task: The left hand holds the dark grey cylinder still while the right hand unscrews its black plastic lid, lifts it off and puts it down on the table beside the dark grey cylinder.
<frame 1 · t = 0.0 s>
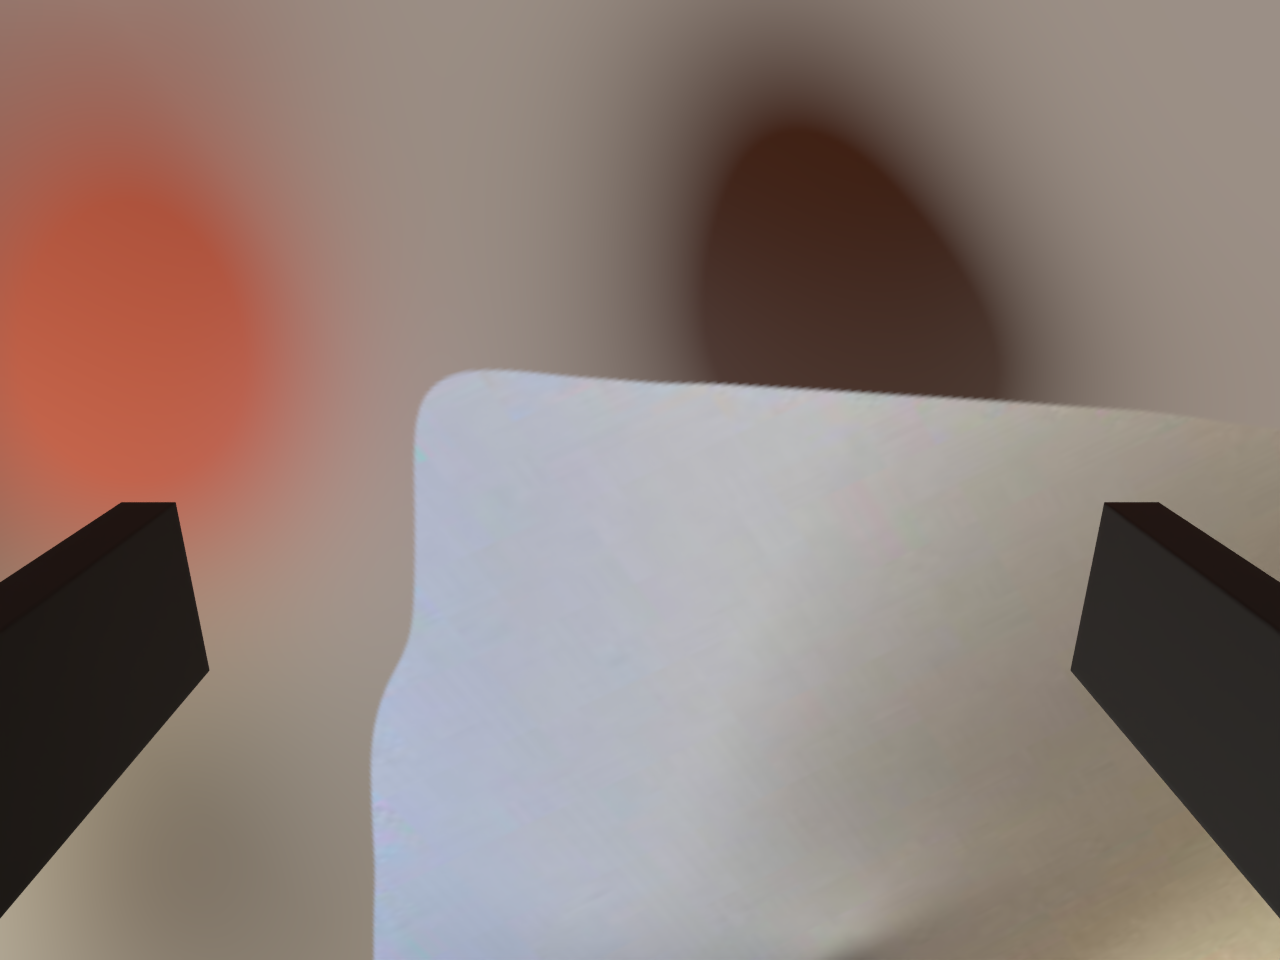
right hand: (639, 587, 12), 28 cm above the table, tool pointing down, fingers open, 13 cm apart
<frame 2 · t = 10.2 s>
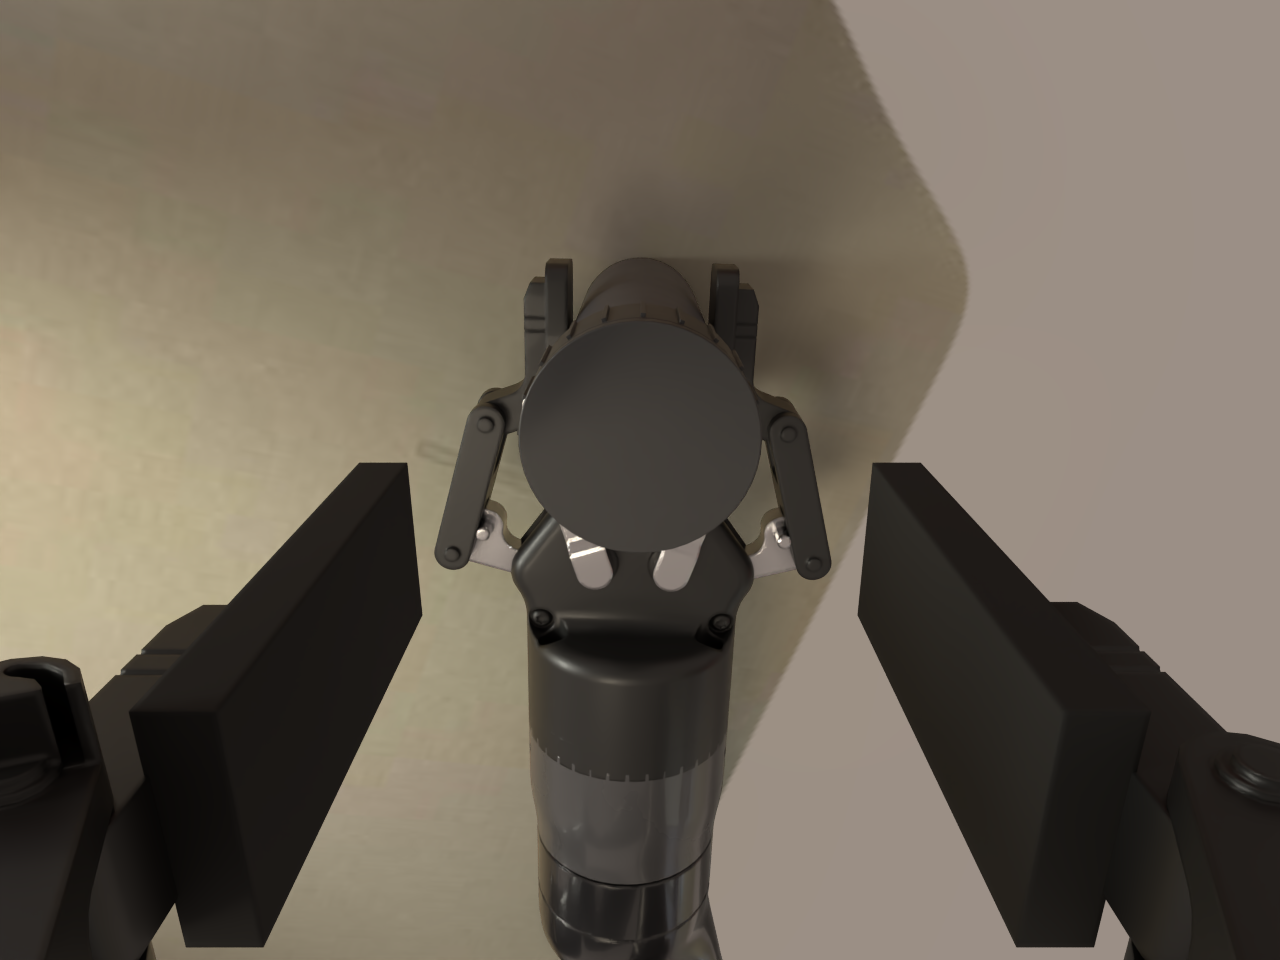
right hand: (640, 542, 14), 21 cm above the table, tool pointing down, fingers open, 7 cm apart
left hand: (641, 266, 27), fingers closed on dark grey cylinder, 4 cm apart
dark grey cylinder: (639, 316, 34), on the table, touching left hand
lid: (640, 438, 19), point 16 cm above the table, screwed on, not yet turned
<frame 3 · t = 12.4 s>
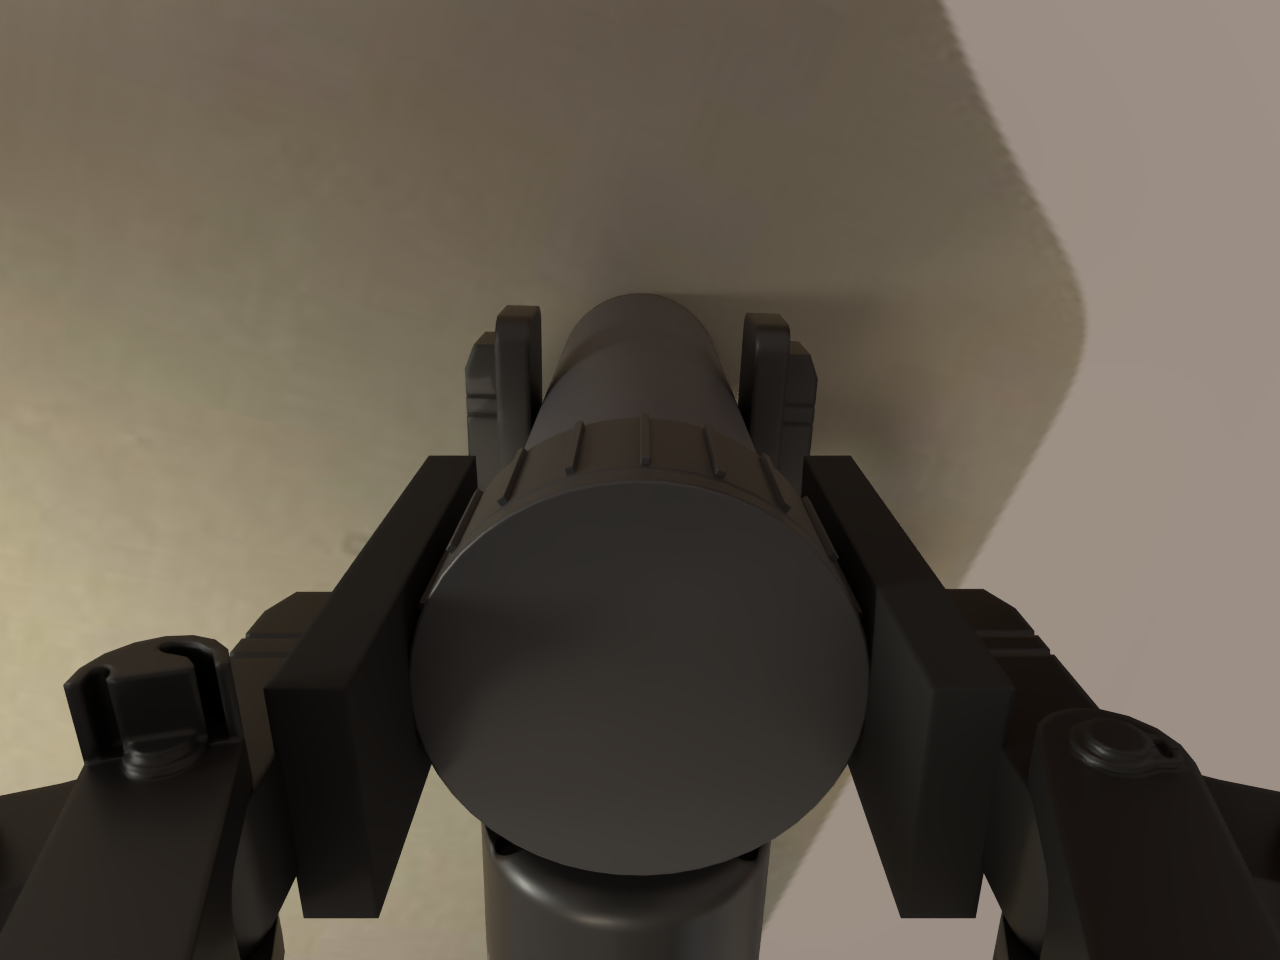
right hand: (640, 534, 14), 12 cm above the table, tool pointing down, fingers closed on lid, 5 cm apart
dark grey cylinder: (639, 372, 25), on the table, touching left hand
lid: (639, 679, 10), point 16 cm above the table, screwed on, not yet turned, touching right hand
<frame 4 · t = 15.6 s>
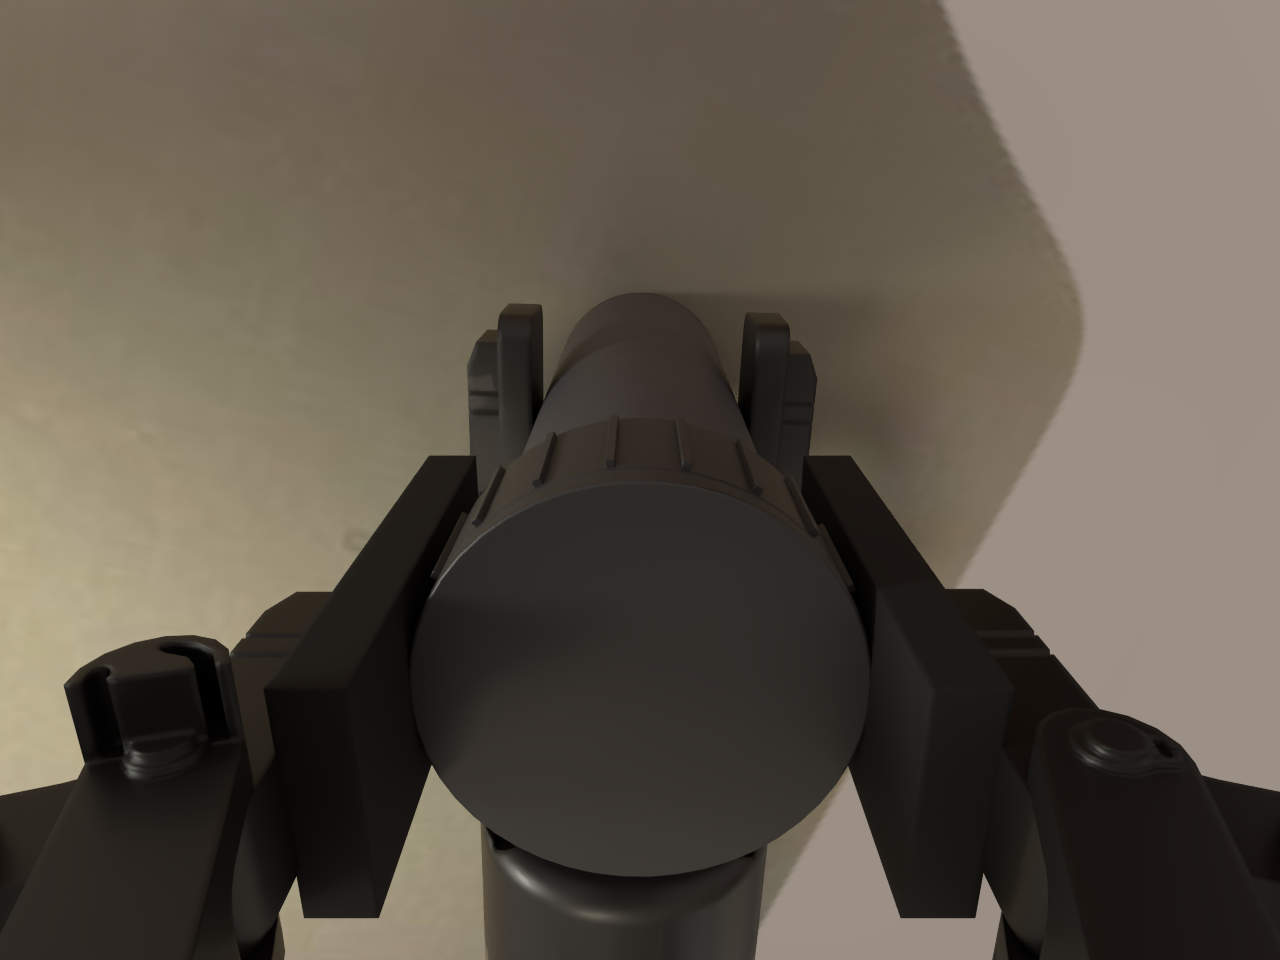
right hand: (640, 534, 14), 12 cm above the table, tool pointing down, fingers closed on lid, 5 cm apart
dark grey cylinder: (639, 371, 25), on the table, touching left hand
lid: (640, 680, 10), point 16 cm above the table, turned 99° so far, risen 0.2 cm, still on its thread, touching right hand
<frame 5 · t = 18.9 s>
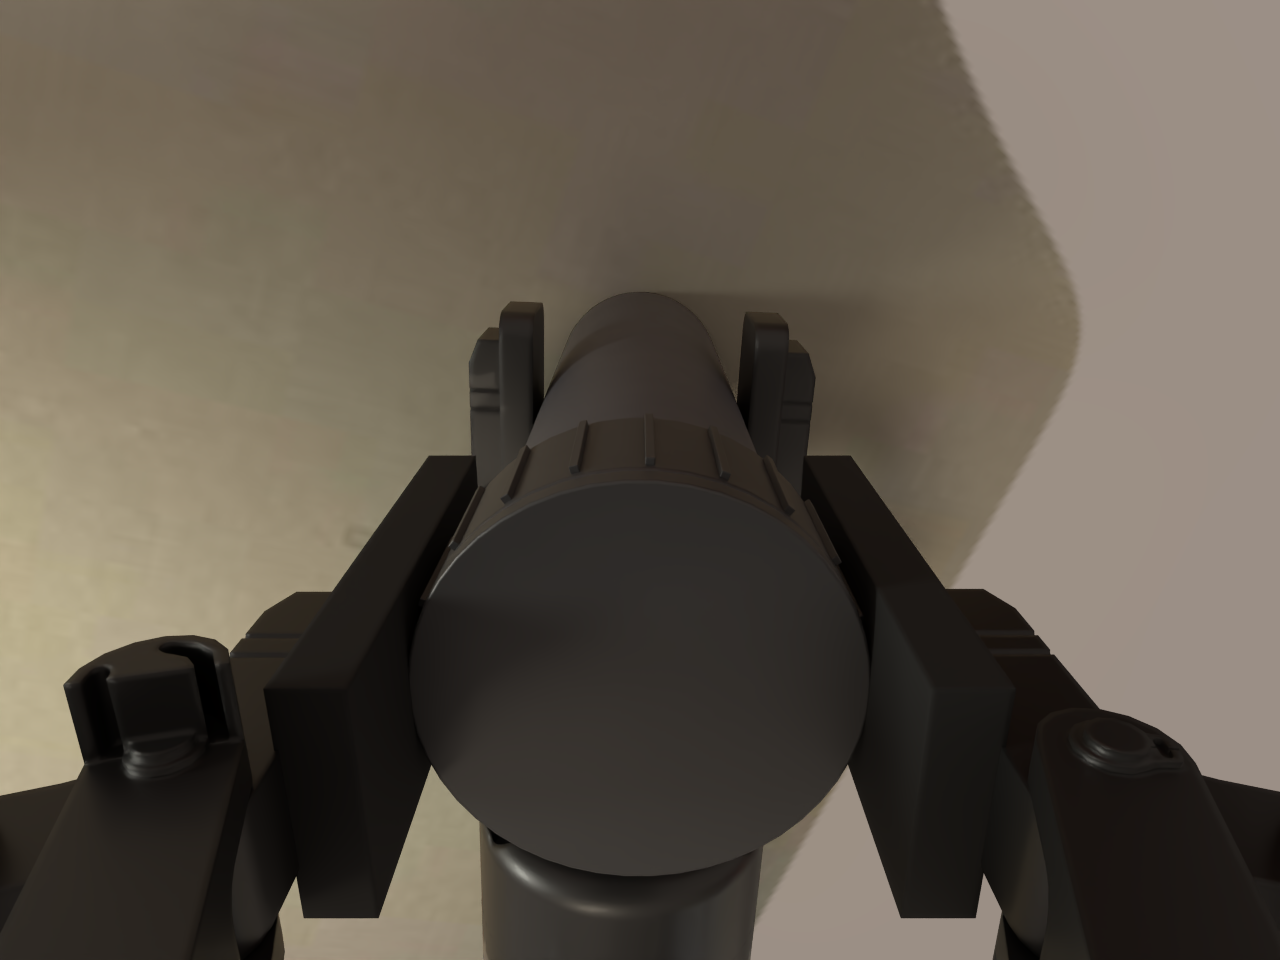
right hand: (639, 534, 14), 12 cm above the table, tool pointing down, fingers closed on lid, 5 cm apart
dark grey cylinder: (639, 369, 25), on the table, touching left hand
lid: (639, 680, 10), point 16 cm above the table, turned 198° so far, risen 0.3 cm, still on its thread, touching right hand
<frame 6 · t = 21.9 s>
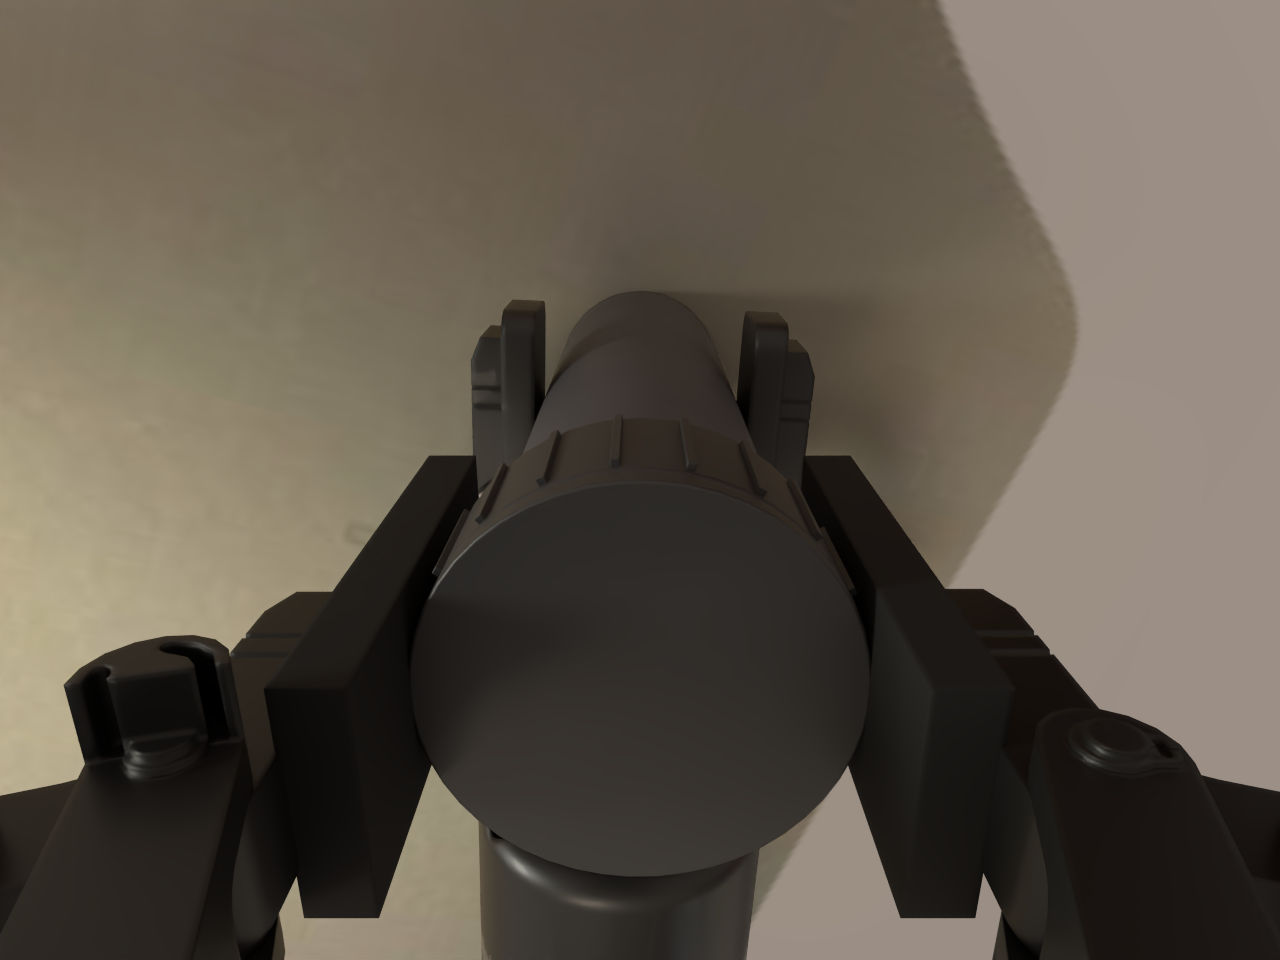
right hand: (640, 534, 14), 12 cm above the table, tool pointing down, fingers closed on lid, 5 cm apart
dark grey cylinder: (639, 368, 26), on the table, touching left hand
lid: (640, 680, 10), point 16 cm above the table, turned 296° so far, risen 0.5 cm, still on its thread, touching right hand
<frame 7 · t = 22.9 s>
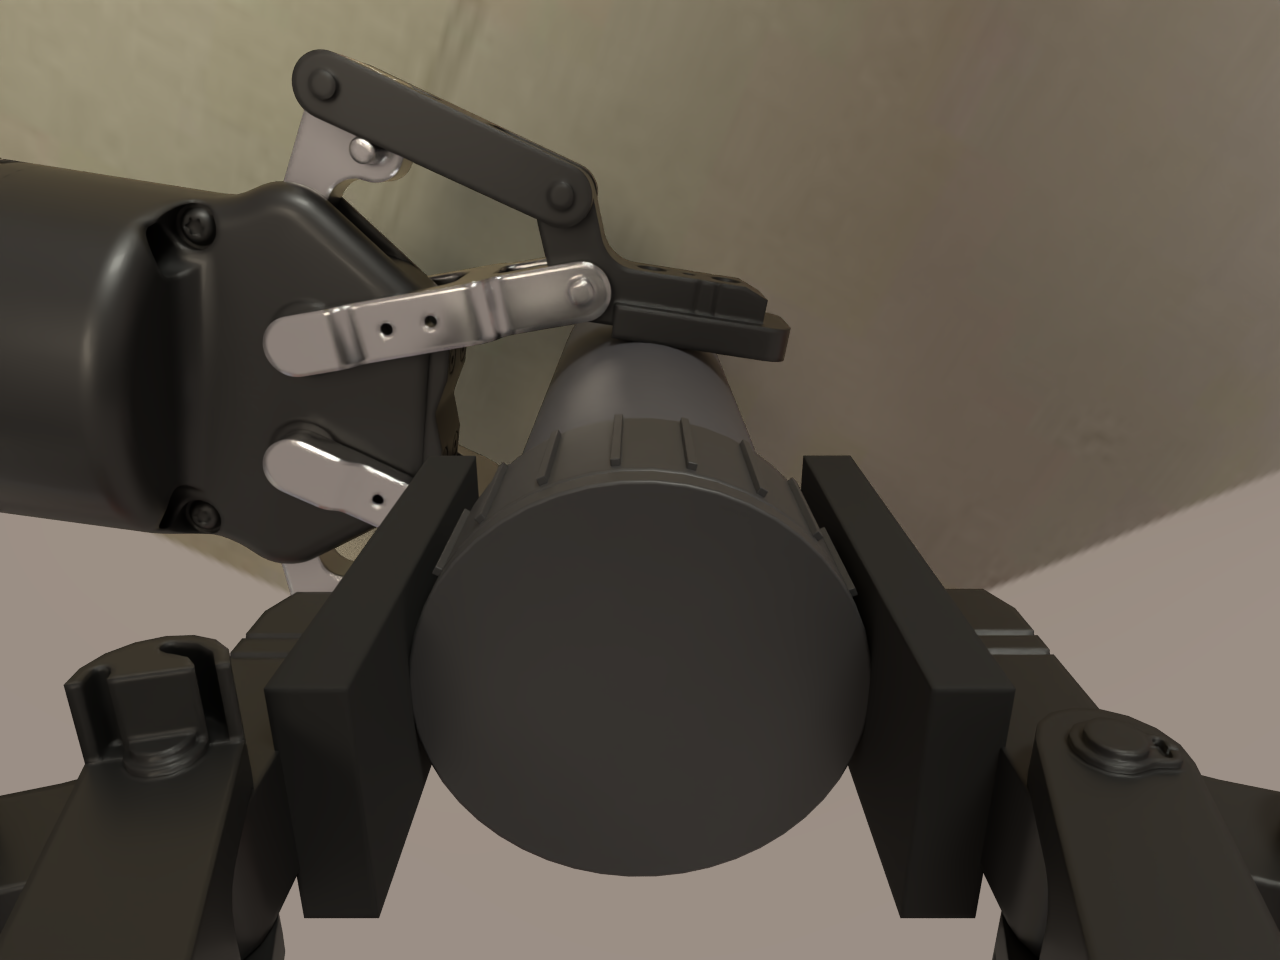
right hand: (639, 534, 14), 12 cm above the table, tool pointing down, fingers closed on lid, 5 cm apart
left hand: (754, 447, 20), fingers closed on dark grey cylinder, 4 cm apart
dark grey cylinder: (639, 367, 26), on the table, touching left hand
lid: (640, 680, 10), point 17 cm above the table, off its thread, touching right hand
when the right hand's fingers open (0 cm above the table, at t = 28.1 s): lid drops 2 cm, point 2 cm above the table.
when the left hand's fingers open (7 cm above the table, at t = 28.8 s): dark grey cylinder stays where it is, on the table.
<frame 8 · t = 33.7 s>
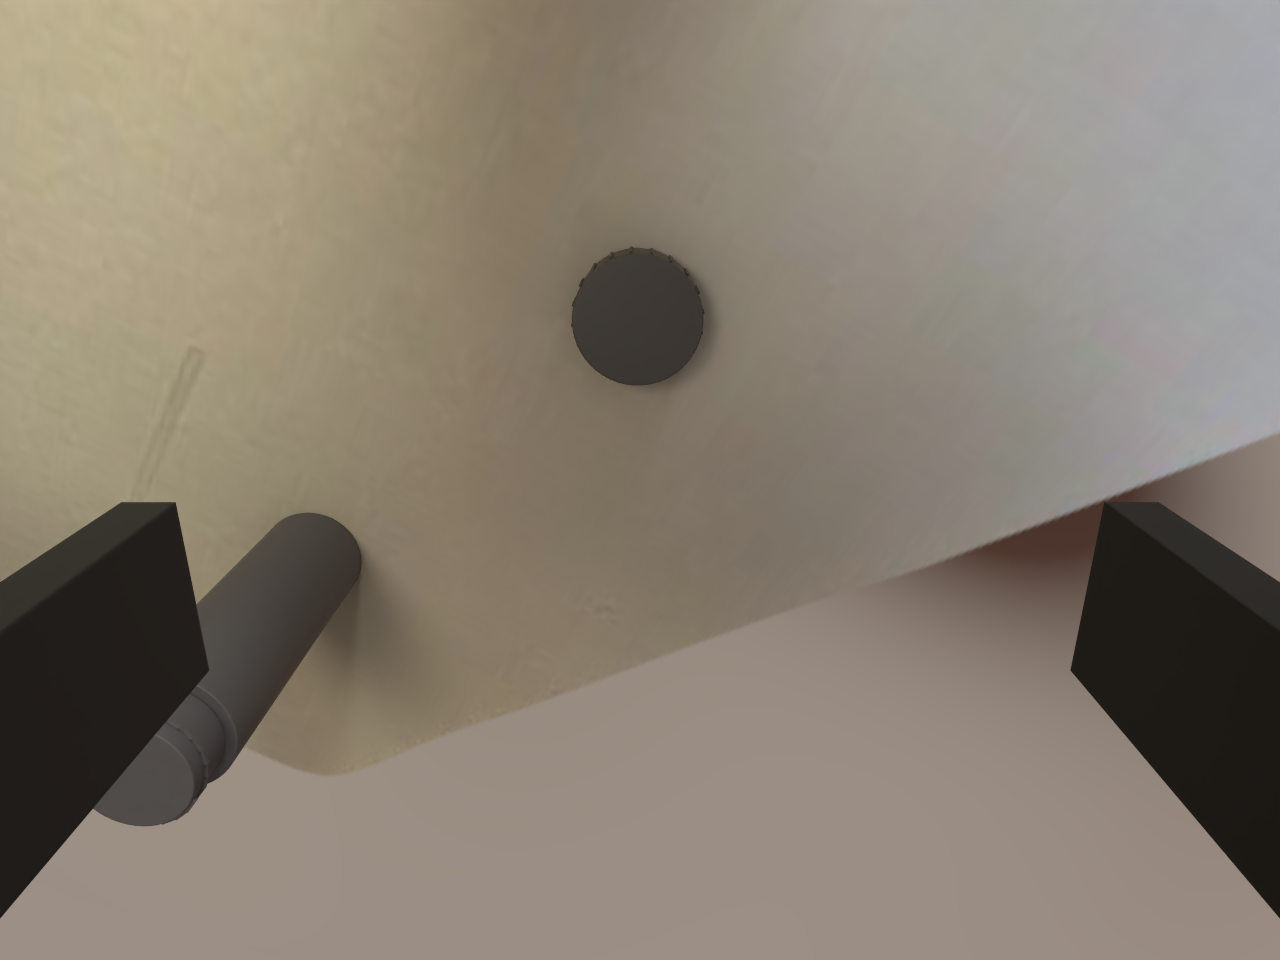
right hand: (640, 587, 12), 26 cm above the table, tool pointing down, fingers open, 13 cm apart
dark grey cylinder: (313, 556, 41), on the table
lid: (637, 320, 35), point 2 cm above the table, off its thread
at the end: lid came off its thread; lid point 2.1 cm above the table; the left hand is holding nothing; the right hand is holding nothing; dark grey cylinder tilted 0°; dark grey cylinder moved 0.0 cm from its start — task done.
